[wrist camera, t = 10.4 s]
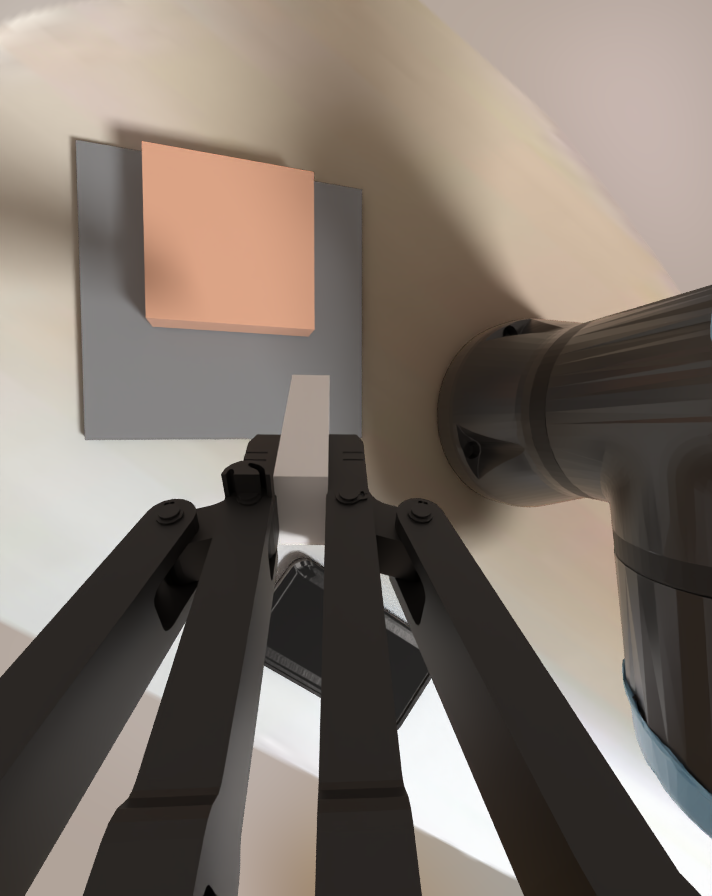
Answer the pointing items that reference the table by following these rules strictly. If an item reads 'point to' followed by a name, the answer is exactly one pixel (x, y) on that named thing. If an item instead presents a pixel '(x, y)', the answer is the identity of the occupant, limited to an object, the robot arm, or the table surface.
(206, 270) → the tile
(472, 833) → the table surface
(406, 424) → the table surface
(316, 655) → the phone
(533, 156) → the table surface
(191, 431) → the mat
